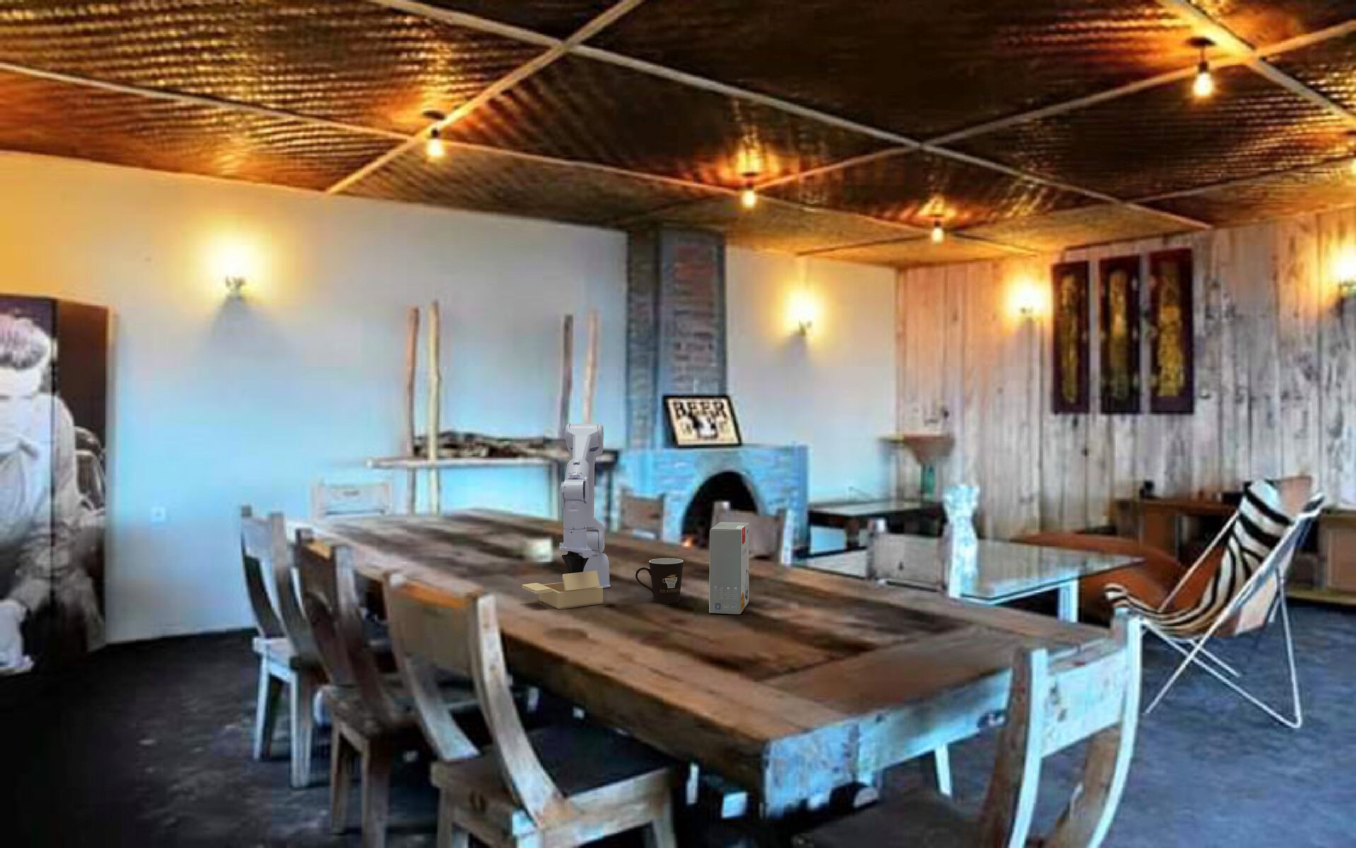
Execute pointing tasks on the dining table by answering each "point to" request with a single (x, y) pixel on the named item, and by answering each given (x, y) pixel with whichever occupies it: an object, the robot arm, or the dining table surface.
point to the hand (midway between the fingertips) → (575, 583)
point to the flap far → (536, 588)
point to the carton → (571, 596)
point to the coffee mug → (664, 579)
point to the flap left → (580, 580)
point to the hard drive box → (729, 568)
